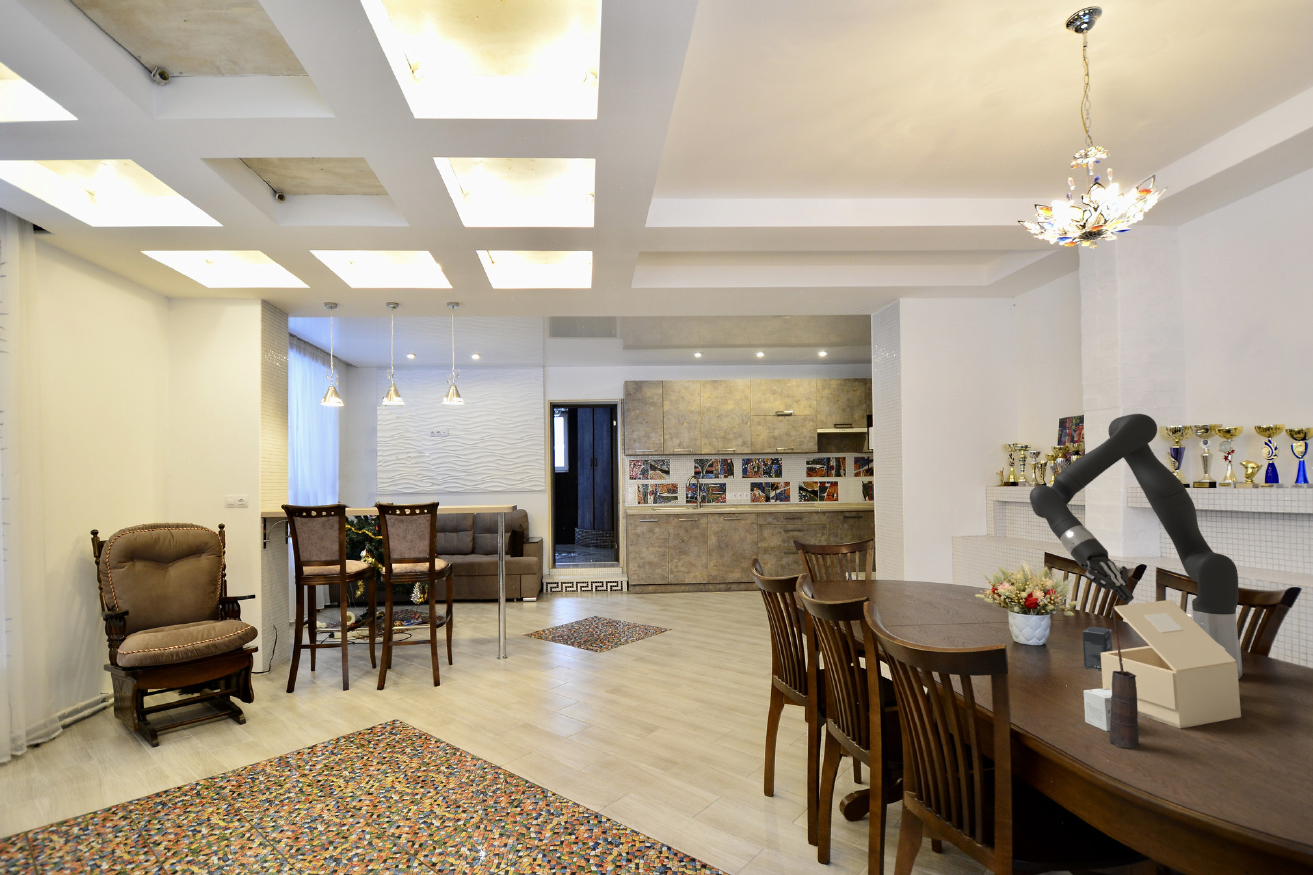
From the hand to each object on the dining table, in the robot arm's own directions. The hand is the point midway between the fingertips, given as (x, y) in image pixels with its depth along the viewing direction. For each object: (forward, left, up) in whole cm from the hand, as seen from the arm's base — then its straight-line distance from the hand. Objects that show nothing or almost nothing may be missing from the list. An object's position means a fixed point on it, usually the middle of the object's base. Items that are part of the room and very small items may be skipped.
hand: (1129, 600), depth 170 cm
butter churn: (+28, +20, -24) cm, 42 cm away
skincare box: (+22, +10, -24) cm, 34 cm away
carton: (0, +8, -24) cm, 26 cm away
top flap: (0, +10, -6) cm, 12 cm away
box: (-16, -24, -24) cm, 38 cm away
